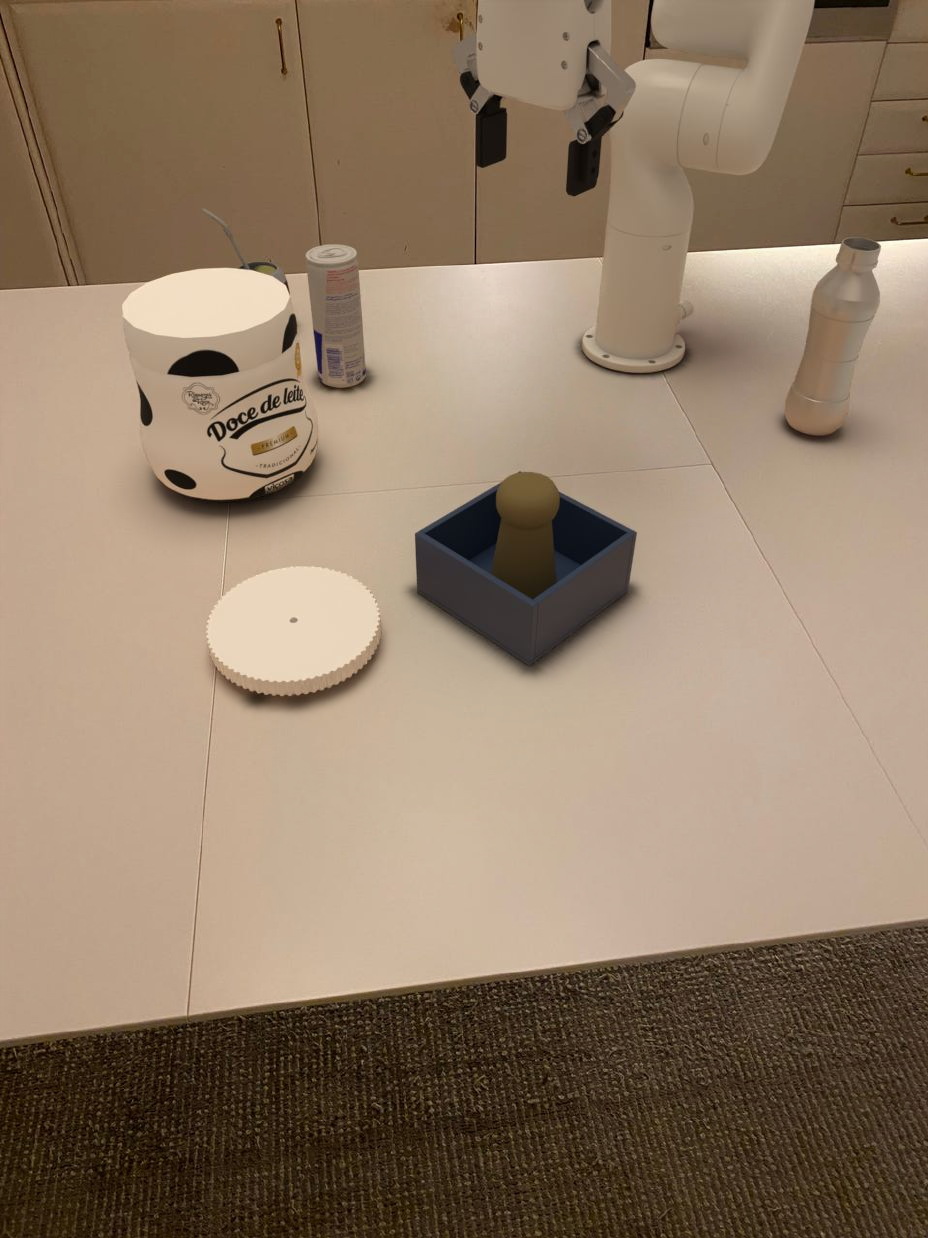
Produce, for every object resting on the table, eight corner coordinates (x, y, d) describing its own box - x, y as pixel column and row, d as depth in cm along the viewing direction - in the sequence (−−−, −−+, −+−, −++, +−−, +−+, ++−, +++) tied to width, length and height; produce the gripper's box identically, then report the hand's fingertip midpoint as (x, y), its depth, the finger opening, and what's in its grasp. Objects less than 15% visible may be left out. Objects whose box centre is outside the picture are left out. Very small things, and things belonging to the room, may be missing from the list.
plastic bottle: (809, 449, 101) (862, 262, 88) (766, 419, 106) (811, 238, 92) (854, 434, 104) (913, 250, 90) (810, 406, 108) (860, 227, 95)
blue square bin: (517, 528, 91) (519, 470, 86) (628, 591, 84) (637, 532, 80) (416, 592, 84) (414, 533, 79) (529, 666, 77) (533, 606, 73)
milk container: (293, 526, 91) (267, 351, 79) (123, 508, 93) (72, 334, 81) (341, 432, 103) (325, 269, 91) (191, 418, 106) (155, 256, 94)
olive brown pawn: (552, 613, 81) (561, 508, 74) (482, 604, 82) (484, 498, 74) (561, 569, 85) (570, 465, 78) (495, 561, 86) (498, 457, 79)
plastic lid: (385, 587, 84) (383, 564, 83) (377, 703, 74) (375, 680, 72) (226, 588, 84) (221, 566, 82) (196, 706, 74) (190, 683, 72)
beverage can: (374, 373, 114) (366, 247, 103) (351, 394, 110) (340, 265, 100) (334, 363, 115) (322, 238, 105) (309, 384, 111) (295, 256, 101)
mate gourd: (303, 333, 121) (289, 212, 111) (246, 349, 118) (226, 226, 108) (277, 312, 126) (261, 194, 116) (221, 327, 122) (200, 207, 112)
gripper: (679, -74, 64) (648, 189, 76) (489, -97, 73) (488, 142, 85) (611, -59, 60) (589, 216, 72) (419, -85, 69) (428, 164, 81)
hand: (534, 176), depth 78 cm, fingers open, 9 cm apart
